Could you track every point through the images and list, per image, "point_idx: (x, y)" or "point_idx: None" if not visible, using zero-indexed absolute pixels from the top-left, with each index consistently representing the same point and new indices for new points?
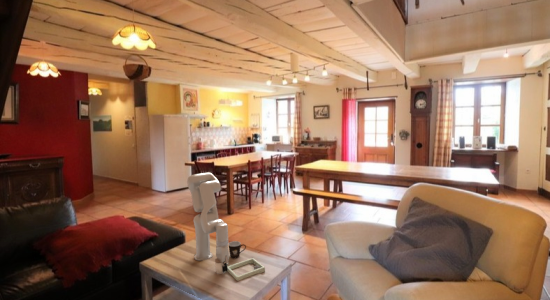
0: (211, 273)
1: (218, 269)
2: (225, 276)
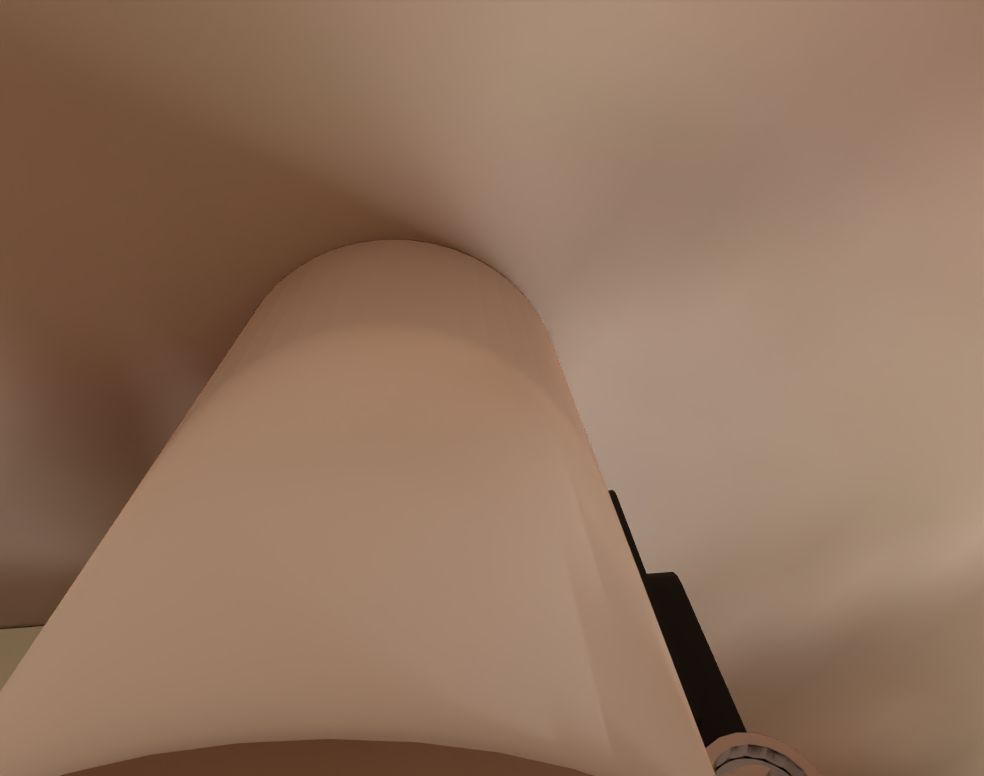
0: (567, 82)
1: (171, 438)
2: (63, 480)
